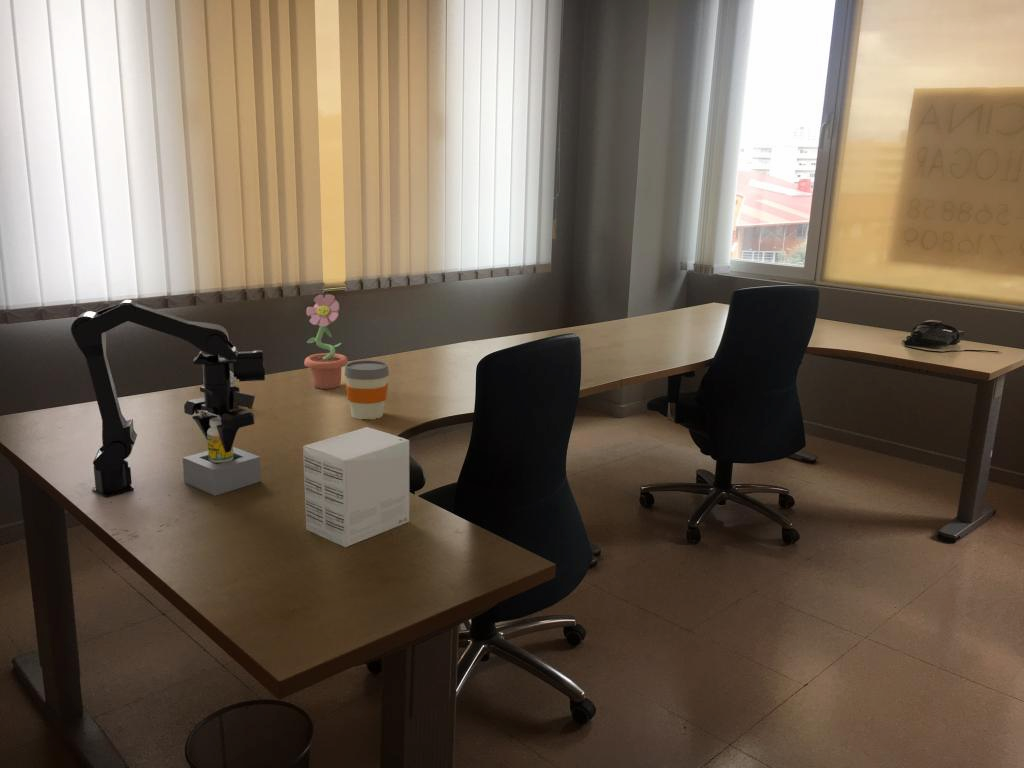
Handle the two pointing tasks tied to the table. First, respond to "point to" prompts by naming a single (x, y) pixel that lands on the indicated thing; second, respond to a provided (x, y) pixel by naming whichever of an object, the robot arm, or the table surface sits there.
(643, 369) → the table surface
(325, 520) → the supplement box
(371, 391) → the reusable coffee cup
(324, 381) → the decorative flower
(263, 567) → the table surface
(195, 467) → the drop box
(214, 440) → the supplement bottle
